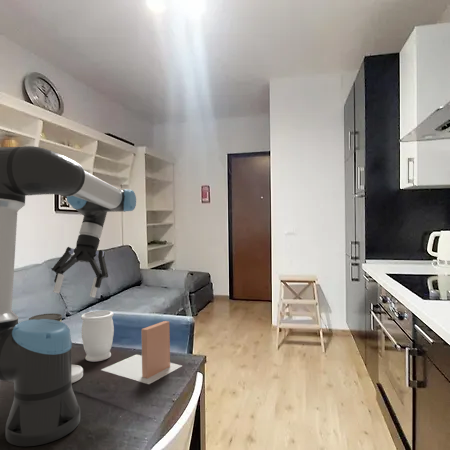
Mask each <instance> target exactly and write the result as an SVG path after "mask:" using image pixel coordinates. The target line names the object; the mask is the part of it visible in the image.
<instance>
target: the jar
mask: <svg viewBox="0 0 450 450" xmlns="http://www.w3.org/2000/svg"><path fill="white" fill-rule="evenodd" d="M113 316H114V312H113V311H112V310H93V311H89V312H85V313H83V314H81V320H82V325H81V339H82V340H81V341H82V345H83V349H84V352H85V354H86V355H85V357H84V359H85V361H88V362H93V363H94V362H102V361H105V360H107V359H109V358H111V356H112V353H111V349H112V347H113V341H114V340H113V339H114V333H115V327H114V320H113Z"/></svg>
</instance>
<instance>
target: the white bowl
mask: <svg viewBox="0 0 450 450" xmlns="http://www.w3.org/2000/svg"><path fill="white" fill-rule="evenodd" d="M71 376H72V378H71V380H72V384H73V383H77V382H78V381H79V380H81V379H82V378H83V376H84V368H83V367H82V366H81V365H78V364H71Z"/></svg>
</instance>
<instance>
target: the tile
mask: <svg viewBox="0 0 450 450" xmlns="http://www.w3.org/2000/svg"><path fill="white" fill-rule="evenodd" d="M170 324H171V323H170V321H169V320H164V321H160V322H157V323H155V324H151V325H149V326H146V327H144V328H143V327H142V328H141V329H140V330H141V332H140V333H141V356H142V377H144V378H147V379H148V378H150V377H151V376H153V375H155V374H157V373H159V372H161V371H163V370H165V369H167V368H168V367H170V363H171V341H170V338H171V337H170V335H171V334H170V332H171V331H170Z"/></svg>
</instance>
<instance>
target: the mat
mask: <svg viewBox="0 0 450 450" xmlns="http://www.w3.org/2000/svg"><path fill="white" fill-rule="evenodd" d="M181 367H183V365H181V364H177V363H174V362H170V367H168V368H167V369H165V370H163V371H161V372H159V373H157V374H155V375H153V376H151V377H150V378H148V379H147V378H144V377H142V354H141V355H140V354H134V355H131V356H130V357H128V358H125V359H123V360H120V361H118V362H116V363H113V364H110V365H108V366H105V367H104V368H101V369H100V371H103V372H106V373H110V374H112V375H116V376H119V377H123V378H126V379H130V380H134V381H137V382H139V383H143V384H146V385H151V384H152V383H154V382H156V381H158V380H159V379H162V378H163V377H165V376H167V375H169V374H170V373H172V372H174V371H177V369H180V368H181Z"/></svg>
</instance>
